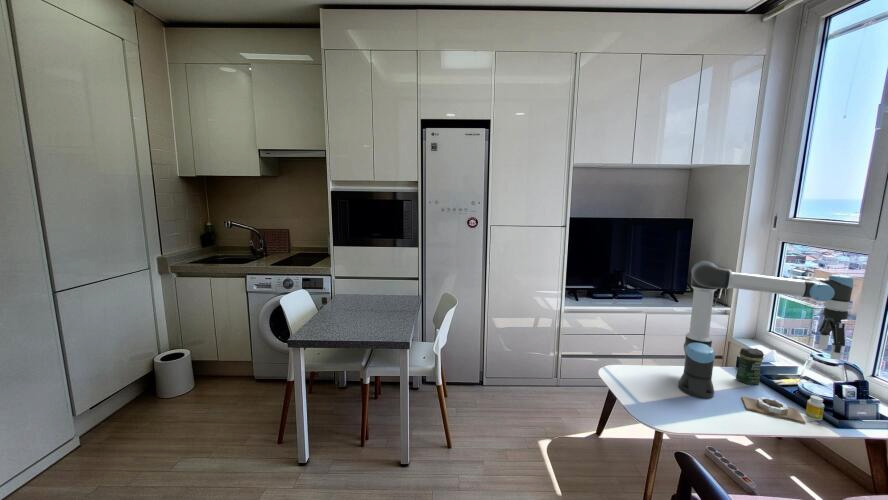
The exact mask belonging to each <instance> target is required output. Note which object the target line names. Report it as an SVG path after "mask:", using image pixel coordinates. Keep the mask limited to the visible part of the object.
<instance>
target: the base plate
mask: <svg viewBox="0 0 888 500" xmlns="http://www.w3.org/2000/svg"><path fill="white" fill-rule="evenodd" d="M741 400H742V403H743V404H744V407H745V410H746V411H751V412H754V413H757V414H763V415H767V416H771V417H774V418H779V419H783V420H786V419H787V421H790V420H791V421H792V422H795V423H800V424H804V425H806V421H805V419H804V418H803V416H802V414H801V413H800V411H799V410H798V408H796V407H791V406H787V407H788V414H784V415H779V414H774V413H770V412H767V411H765V410H763V409H762V408H760V407H758V404H757V398H752V397H747V396H744V395H741ZM768 405H769V404H768ZM770 406H773V405H770ZM773 407H776V406H773ZM777 408H778V407H777Z"/></svg>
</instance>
